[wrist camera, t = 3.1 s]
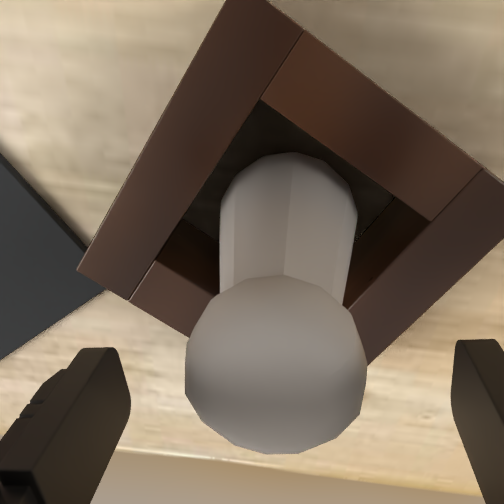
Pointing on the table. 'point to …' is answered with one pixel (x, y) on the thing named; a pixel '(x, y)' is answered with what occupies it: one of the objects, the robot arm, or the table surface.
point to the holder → (326, 132)
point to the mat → (35, 264)
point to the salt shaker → (280, 312)
